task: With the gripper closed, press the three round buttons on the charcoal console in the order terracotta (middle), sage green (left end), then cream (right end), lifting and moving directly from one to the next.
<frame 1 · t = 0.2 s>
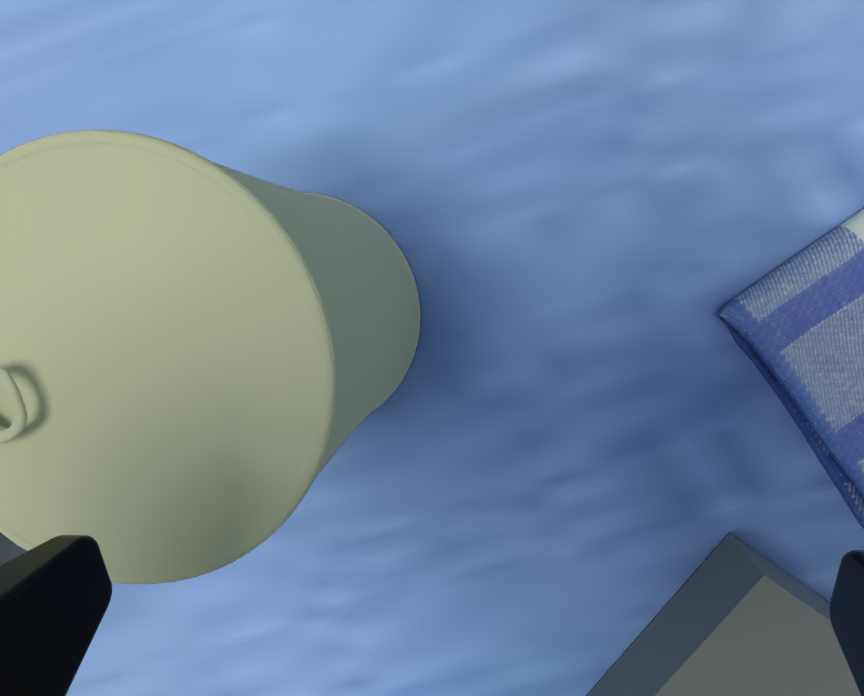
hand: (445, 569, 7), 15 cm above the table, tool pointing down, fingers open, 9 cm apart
sage green canister: (305, 314, 23), on the table
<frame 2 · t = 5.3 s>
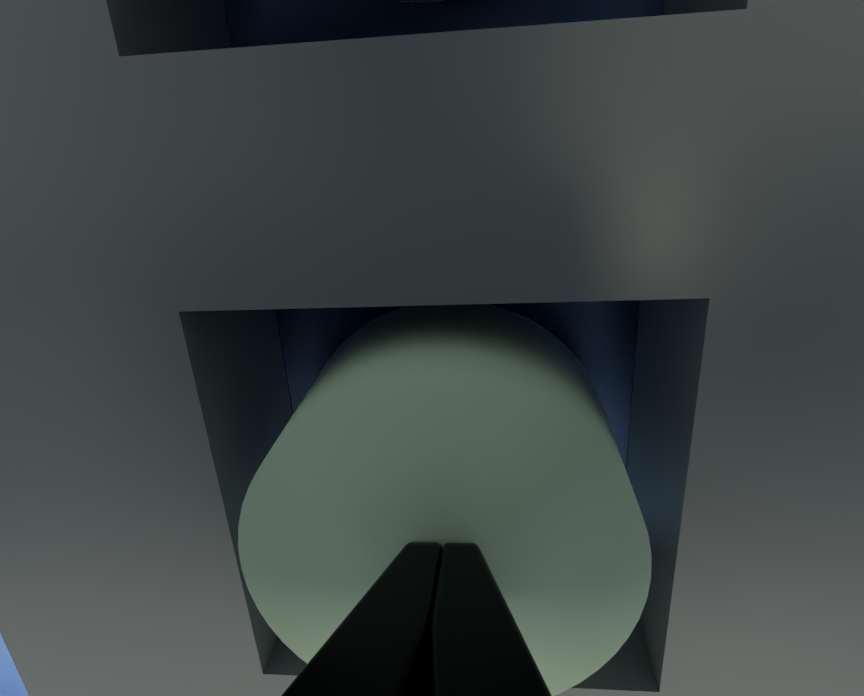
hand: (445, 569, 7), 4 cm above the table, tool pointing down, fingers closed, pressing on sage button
sage button: (447, 496, 9), point 2 cm above the table, slide at 0.9 cm, touching gripper
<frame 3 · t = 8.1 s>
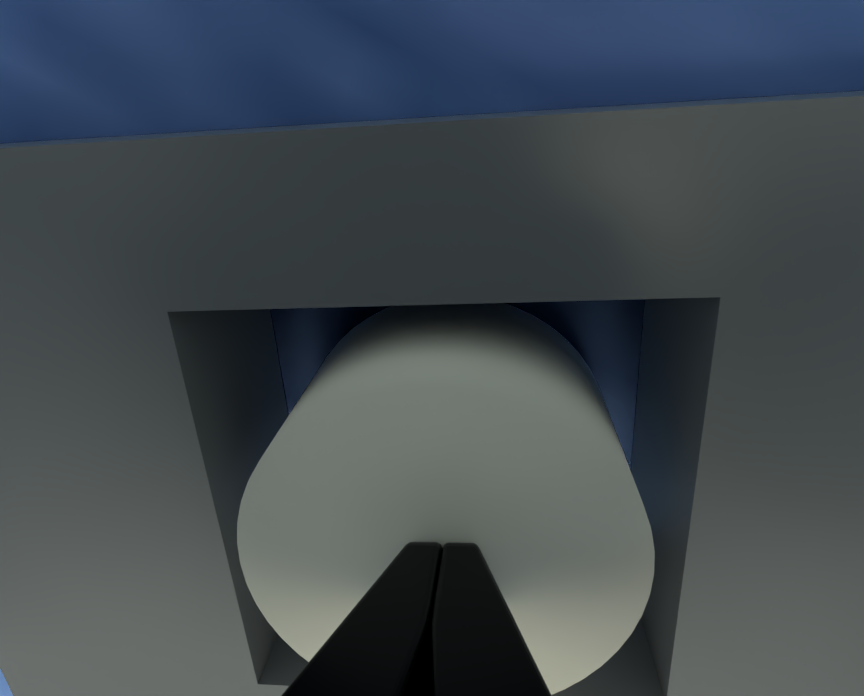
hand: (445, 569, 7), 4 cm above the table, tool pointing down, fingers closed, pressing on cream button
cream button: (447, 492, 8), point 2 cm above the table, slide at 1.1 cm, touching gripper
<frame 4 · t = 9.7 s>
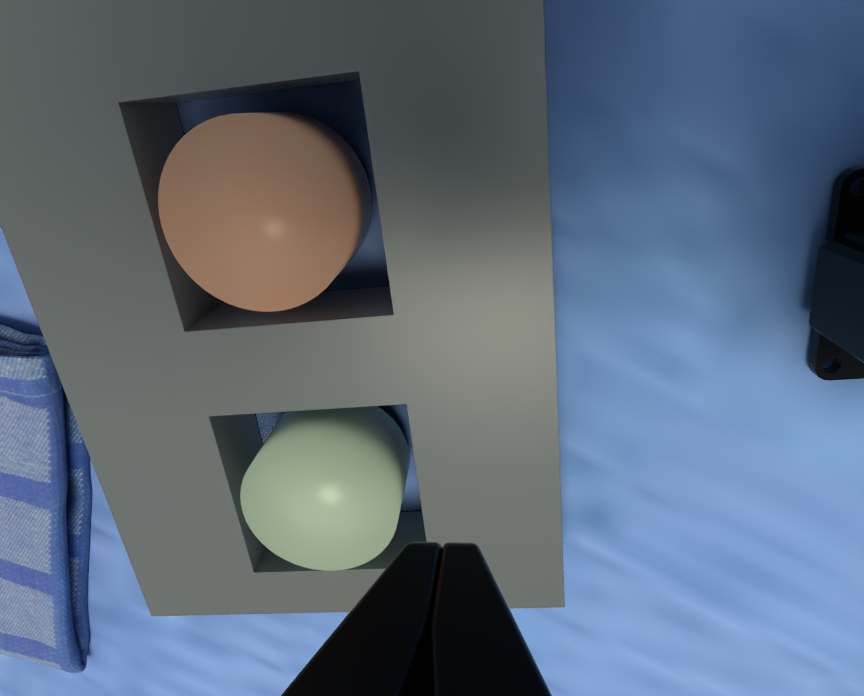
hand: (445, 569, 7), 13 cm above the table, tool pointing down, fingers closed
button panel: (296, 197, 18), on the table
terracotta button: (273, 209, 16), point 2 cm above the table, slide at 1.1 cm
sage button: (330, 479, 20), point 2 cm above the table, slide at 1.1 cm
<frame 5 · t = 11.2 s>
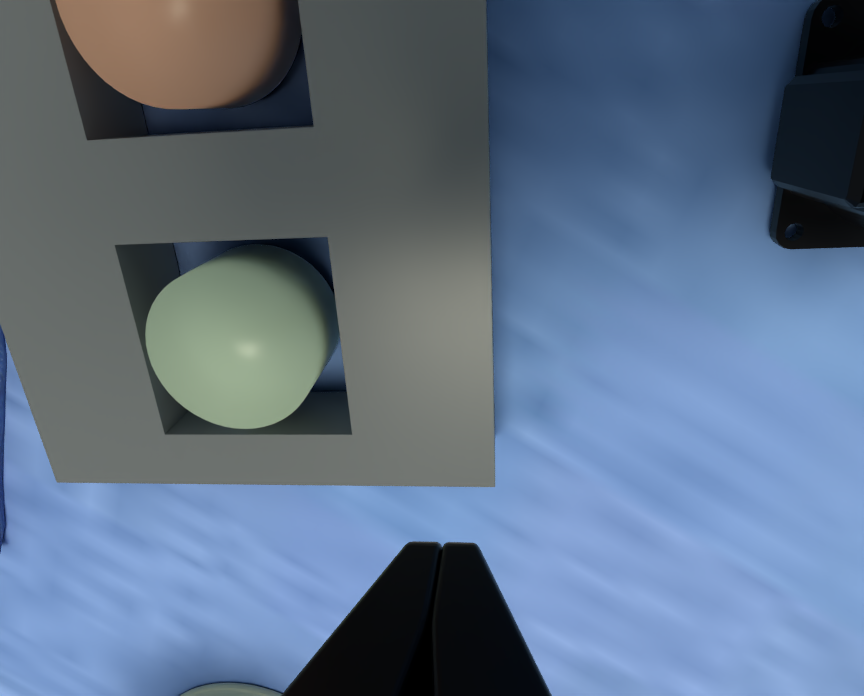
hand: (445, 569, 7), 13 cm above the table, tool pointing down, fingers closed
button panel: (223, 13, 17), on the table
terracotta button: (187, 1, 15), point 2 cm above the table, slide at 1.1 cm
sage button: (249, 334, 18), point 2 cm above the table, slide at 1.1 cm
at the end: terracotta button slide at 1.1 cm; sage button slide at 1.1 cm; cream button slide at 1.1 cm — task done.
